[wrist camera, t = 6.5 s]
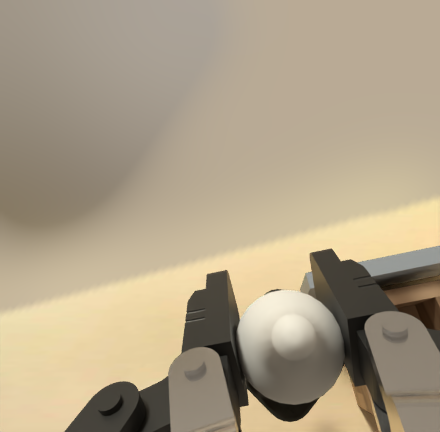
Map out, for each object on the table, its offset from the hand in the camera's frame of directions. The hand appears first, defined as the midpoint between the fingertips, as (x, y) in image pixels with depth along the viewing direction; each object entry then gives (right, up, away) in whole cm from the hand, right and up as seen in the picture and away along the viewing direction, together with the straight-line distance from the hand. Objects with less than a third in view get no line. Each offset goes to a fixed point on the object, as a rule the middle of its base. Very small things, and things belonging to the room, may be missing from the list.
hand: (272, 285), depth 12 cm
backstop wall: (+16, -6, +30) cm, 34 cm away
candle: (+3, -9, +17) cm, 20 cm away
